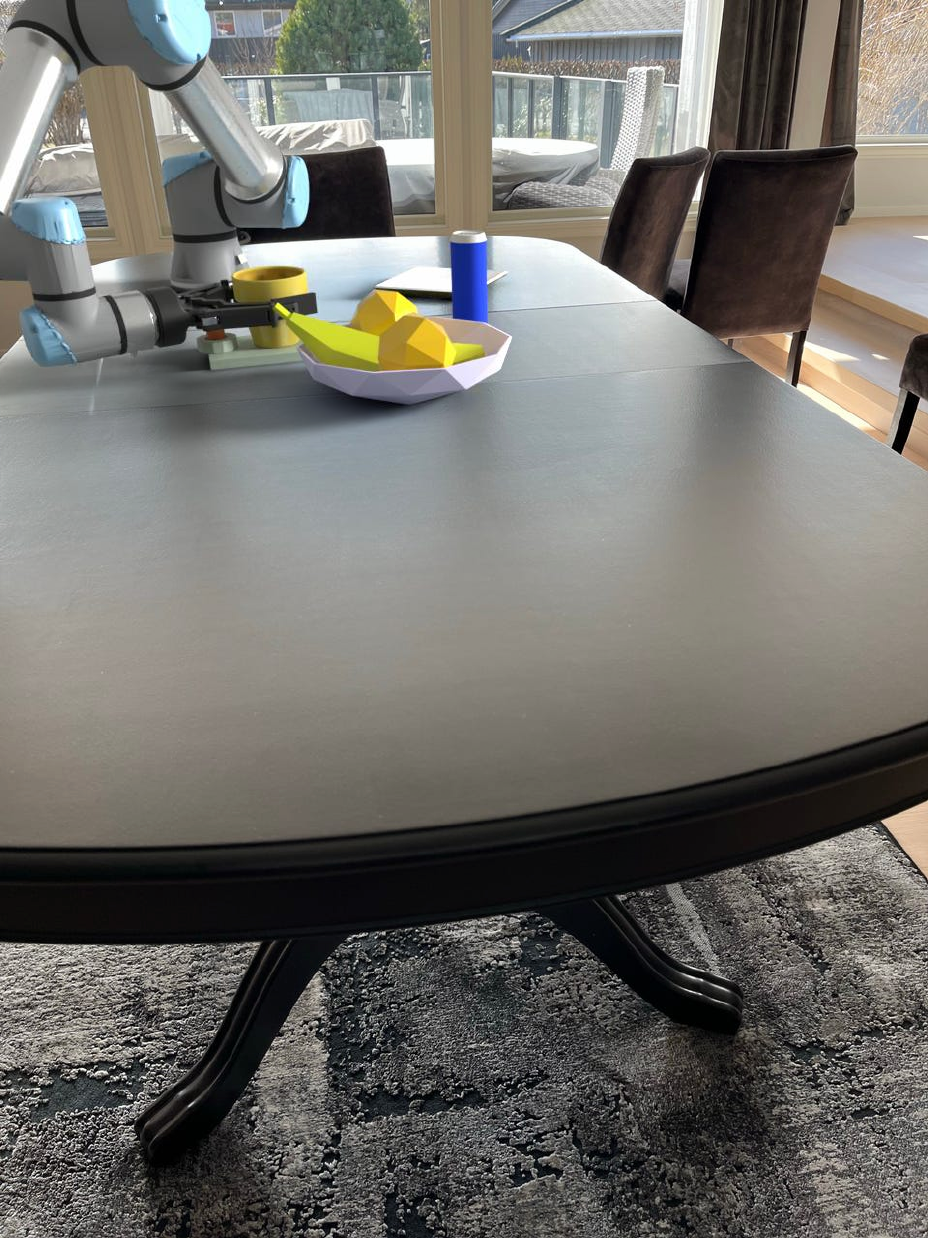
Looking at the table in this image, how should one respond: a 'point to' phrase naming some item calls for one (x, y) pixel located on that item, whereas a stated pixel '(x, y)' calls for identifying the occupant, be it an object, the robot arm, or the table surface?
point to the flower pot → (266, 286)
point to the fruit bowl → (397, 350)
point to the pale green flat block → (243, 352)
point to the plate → (428, 282)
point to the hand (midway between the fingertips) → (294, 294)
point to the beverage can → (469, 275)
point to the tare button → (216, 334)
